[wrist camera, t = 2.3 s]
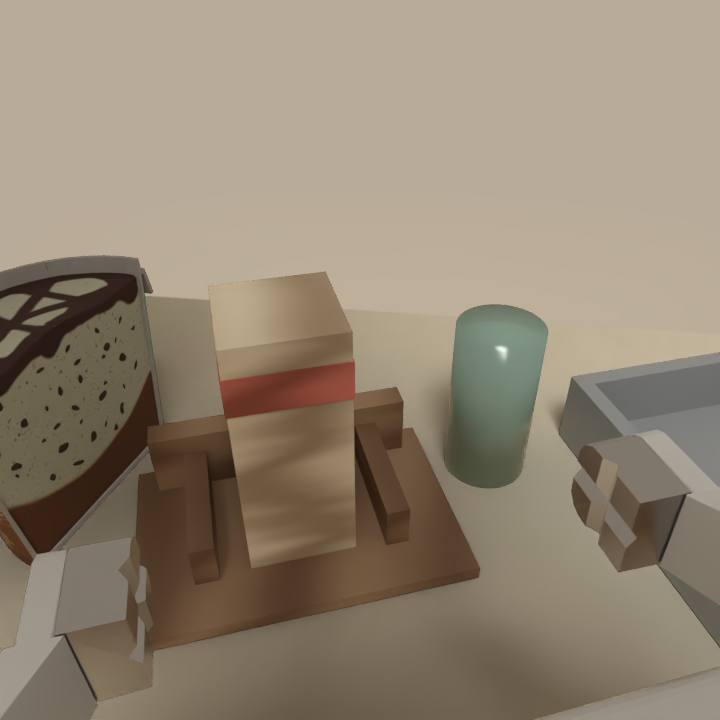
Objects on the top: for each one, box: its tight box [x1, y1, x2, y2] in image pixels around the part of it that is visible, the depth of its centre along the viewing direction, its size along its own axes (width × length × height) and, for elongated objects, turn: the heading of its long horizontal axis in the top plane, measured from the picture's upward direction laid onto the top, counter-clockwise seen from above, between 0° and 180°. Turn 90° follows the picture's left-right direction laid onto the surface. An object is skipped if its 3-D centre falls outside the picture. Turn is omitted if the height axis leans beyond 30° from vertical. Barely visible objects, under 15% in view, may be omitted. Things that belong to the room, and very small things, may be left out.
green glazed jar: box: [444, 305, 548, 488], centre depth 31 cm, size 4×4×8 cm
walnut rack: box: [136, 387, 480, 650], centre depth 28 cm, size 14×9×4 cm, turn 104°
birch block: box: [208, 272, 356, 569], centre depth 26 cm, size 5×5×11 cm
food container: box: [0, 255, 164, 566], centre depth 29 cm, size 12×6×10 cm, turn 160°
